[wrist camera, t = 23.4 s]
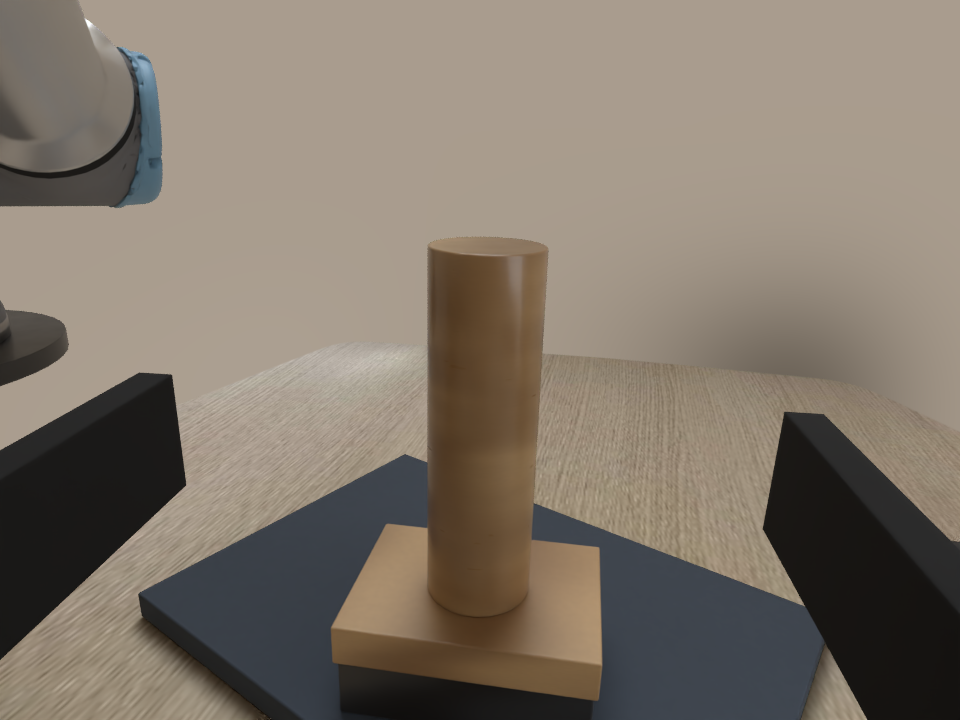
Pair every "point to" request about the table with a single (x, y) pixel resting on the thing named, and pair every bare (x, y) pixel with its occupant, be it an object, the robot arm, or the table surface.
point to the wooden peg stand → (476, 526)
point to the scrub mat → (623, 563)
